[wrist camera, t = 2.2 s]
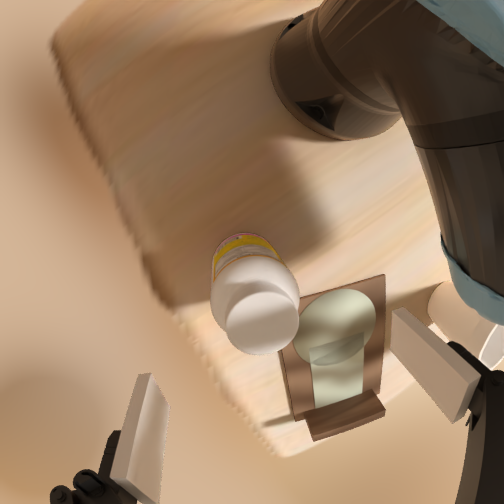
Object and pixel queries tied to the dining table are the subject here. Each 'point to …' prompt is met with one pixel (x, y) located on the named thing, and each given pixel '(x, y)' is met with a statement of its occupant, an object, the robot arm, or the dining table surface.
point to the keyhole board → (338, 358)
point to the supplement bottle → (253, 295)
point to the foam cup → (466, 325)
